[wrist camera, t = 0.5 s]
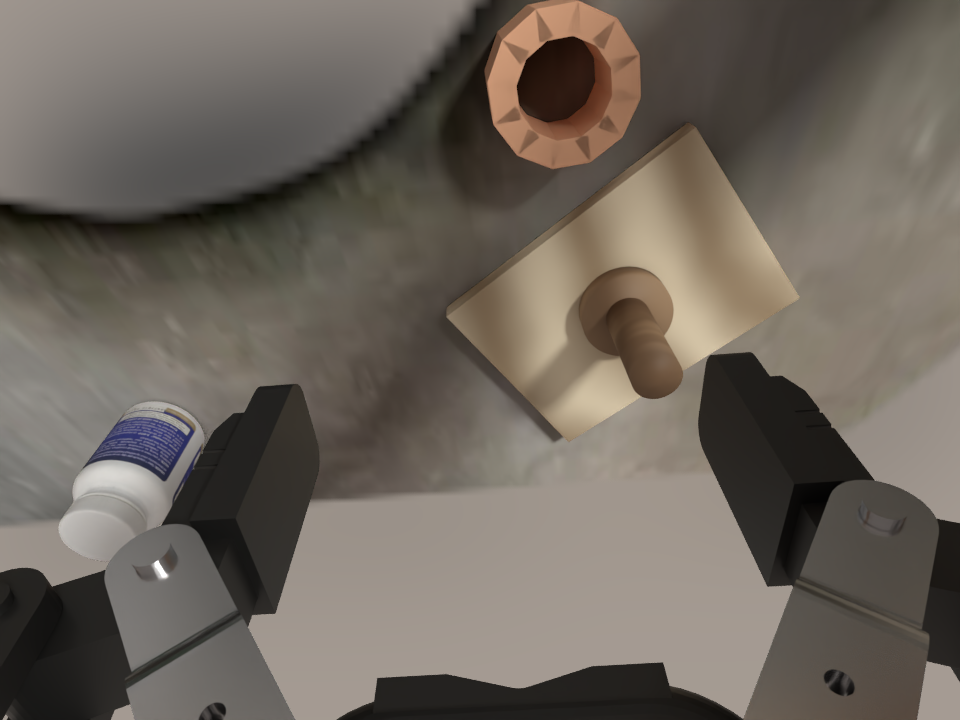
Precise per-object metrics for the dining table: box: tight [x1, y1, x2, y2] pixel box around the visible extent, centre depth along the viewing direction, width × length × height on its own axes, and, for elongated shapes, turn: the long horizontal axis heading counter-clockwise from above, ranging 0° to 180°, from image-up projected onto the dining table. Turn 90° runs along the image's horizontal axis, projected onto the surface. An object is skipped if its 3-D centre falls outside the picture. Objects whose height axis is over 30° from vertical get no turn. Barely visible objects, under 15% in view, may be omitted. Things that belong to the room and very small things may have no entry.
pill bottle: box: [58, 401, 205, 562], centre depth 37 cm, size 5×5×9 cm
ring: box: [484, 0, 641, 169], centre depth 28 cm, size 6×6×4 cm
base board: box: [446, 122, 800, 442], centre depth 36 cm, size 16×12×1 cm
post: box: [579, 266, 683, 399], centre depth 32 cm, size 5×5×7 cm
